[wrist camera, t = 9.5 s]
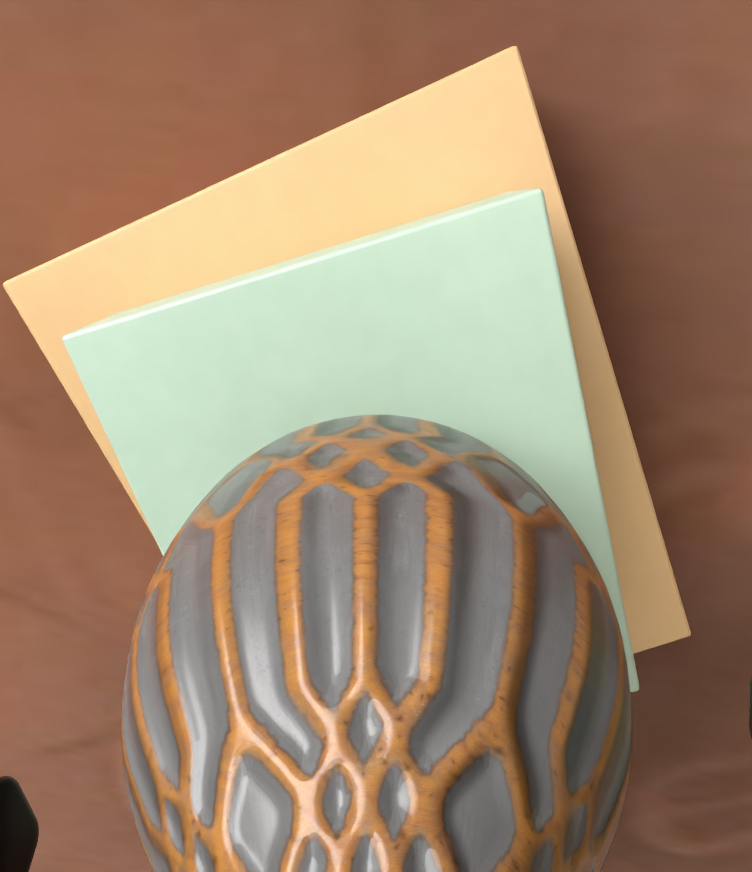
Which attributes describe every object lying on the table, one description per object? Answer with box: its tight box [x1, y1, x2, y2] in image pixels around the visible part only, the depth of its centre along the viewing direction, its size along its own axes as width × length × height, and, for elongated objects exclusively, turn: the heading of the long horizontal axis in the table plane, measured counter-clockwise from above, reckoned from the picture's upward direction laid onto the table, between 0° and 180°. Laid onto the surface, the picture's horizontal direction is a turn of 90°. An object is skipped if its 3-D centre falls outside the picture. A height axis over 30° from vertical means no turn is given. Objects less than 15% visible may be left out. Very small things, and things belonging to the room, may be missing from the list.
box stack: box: [3, 46, 691, 692], centre depth 16 cm, size 15×12×6 cm
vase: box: [121, 415, 632, 872], centre depth 9 cm, size 7×7×9 cm
